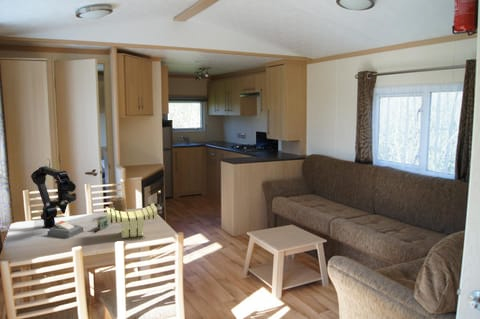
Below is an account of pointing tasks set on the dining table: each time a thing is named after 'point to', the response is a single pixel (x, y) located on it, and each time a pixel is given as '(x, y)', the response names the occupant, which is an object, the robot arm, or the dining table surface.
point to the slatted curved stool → (132, 220)
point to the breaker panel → (65, 231)
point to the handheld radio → (103, 223)
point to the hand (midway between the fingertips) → (63, 213)
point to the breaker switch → (65, 225)
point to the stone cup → (120, 205)
